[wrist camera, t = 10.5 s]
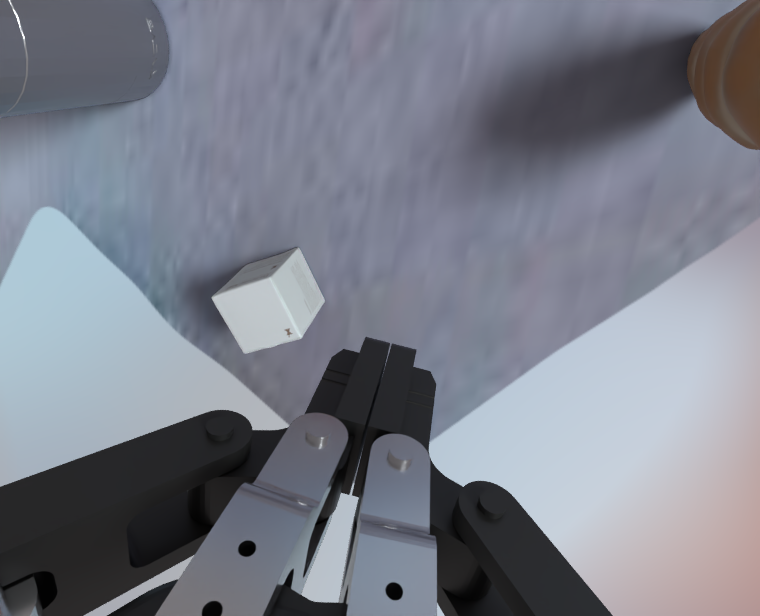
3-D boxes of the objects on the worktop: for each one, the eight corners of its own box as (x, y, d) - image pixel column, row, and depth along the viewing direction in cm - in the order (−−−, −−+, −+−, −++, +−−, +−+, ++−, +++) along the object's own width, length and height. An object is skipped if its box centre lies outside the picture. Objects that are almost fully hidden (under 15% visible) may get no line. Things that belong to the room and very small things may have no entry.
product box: (300, 244, 45) (271, 276, 38) (327, 301, 47) (303, 340, 41) (245, 263, 47) (208, 296, 40) (273, 317, 49) (243, 356, 43)
